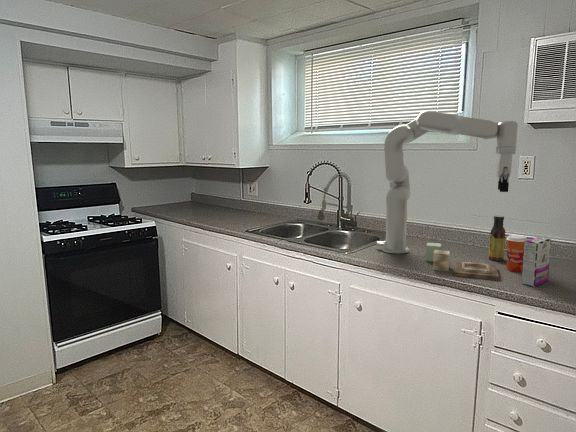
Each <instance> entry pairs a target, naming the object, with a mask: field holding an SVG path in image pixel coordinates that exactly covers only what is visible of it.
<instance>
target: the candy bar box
mask: <svg viewBox="0 0 576 432" xmlns="http://www.w3.org/2000/svg"><path fill="white" fill-rule="evenodd" d="M551 245H552V238H550V237H543V236H536V237H532V238H530V239H527V240H526V241H524V253H523V269H522V272H521V284H522V285H525V286H530V287H537V286H540V285H541V284H544V283H546V282H548V281H549V273H550V259H551V248H552V247H551Z"/></svg>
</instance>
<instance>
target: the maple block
mask: <svg viewBox="0 0 576 432" xmlns="http://www.w3.org/2000/svg"><path fill="white" fill-rule="evenodd" d="M450 253H451V252H450V251H449V250H443V249H441V250H434V257H433V261H432V270H434V271H443V272H449V270H450V269H449V268H450Z"/></svg>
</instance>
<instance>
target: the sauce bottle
mask: <svg viewBox="0 0 576 432" xmlns="http://www.w3.org/2000/svg"><path fill="white" fill-rule="evenodd" d="M504 220H505V216H504V215H501V214H497V215H496V214H495V215H493V225H492V228H491V230H490V232H489V242H488V243H489V245H488V259H489V260H492V261H497V262H501V261H504V258H505V249H506V235H507V232H506V229H505V228H504Z"/></svg>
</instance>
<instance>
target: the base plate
mask: <svg viewBox="0 0 576 432" xmlns="http://www.w3.org/2000/svg"><path fill="white" fill-rule="evenodd" d="M453 264H454V265H453V273H452V275H453V276H454V277H463V278H470V279H471V278H472V279H473V278H474V279H480V280H481V279H482V280H490V281H491V280H493V281H500V280H499V278H500V276H499V271H498V268H497V267H498V266H497V265H496V264H488V263H478V262H466V261H454V263H453Z"/></svg>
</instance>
